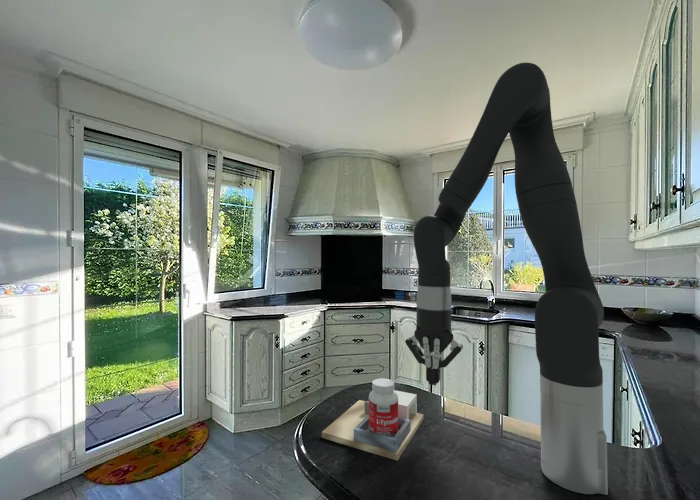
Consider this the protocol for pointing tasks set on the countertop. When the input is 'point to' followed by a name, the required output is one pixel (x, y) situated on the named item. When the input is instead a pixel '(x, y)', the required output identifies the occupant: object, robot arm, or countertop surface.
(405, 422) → the base board
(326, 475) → the countertop surface
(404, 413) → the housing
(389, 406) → the pill bottle
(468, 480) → the countertop surface
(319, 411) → the countertop surface
